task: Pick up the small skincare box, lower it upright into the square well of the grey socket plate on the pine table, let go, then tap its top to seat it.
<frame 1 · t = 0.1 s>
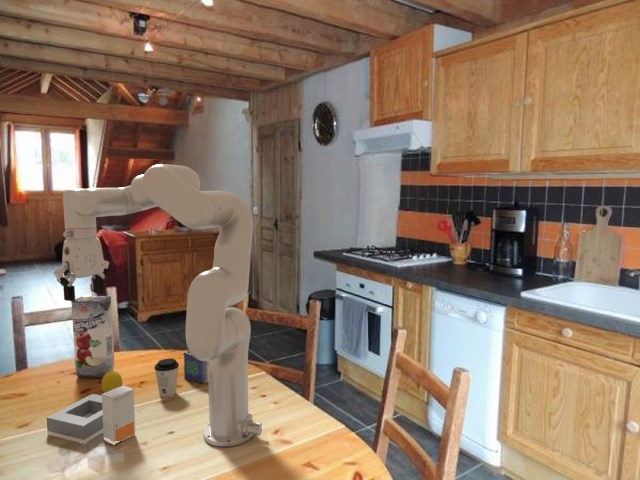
hand: (84, 296, 126), 31 cm above the table, tool pointing down, fingers open, 9 cm apart
juice carton: (95, 374, 151), on the table
lemon: (112, 397, 134), on the table
skincare box: (120, 438, 112), on the table
socket plate: (89, 425, 118), on the table
coffee cup: (167, 394, 136), on the table
flask: (195, 381, 145), on the table
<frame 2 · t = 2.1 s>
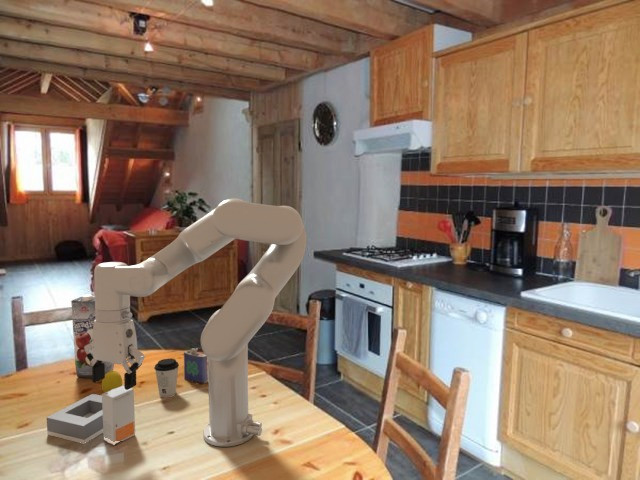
hand: (114, 383, 110), 14 cm above the table, tool pointing down, fingers open, 9 cm apart
nothing on the table moved.
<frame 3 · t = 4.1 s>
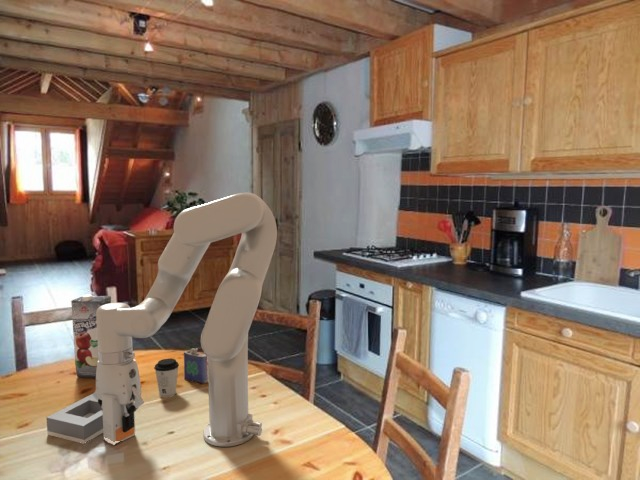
hand: (119, 426, 111), 3 cm above the table, tool pointing down, fingers closed on skincare box, 4 cm apart
skincare box: (120, 438, 112), on the table, touching gripper
everything else where it was.
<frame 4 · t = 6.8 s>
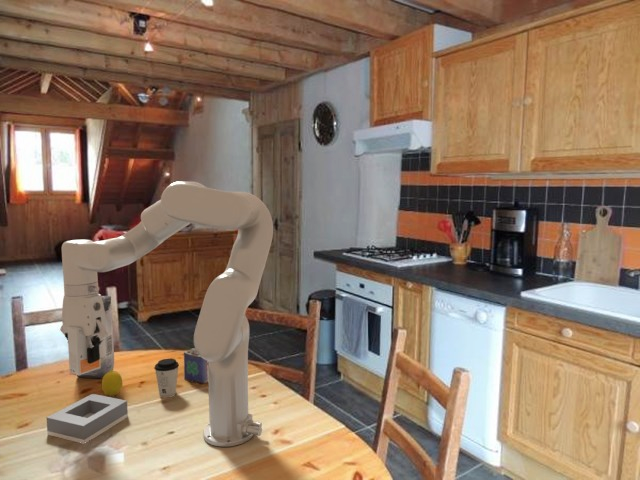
hand: (85, 359, 116), 18 cm above the table, tool pointing down, fingers closed on skincare box, 4 cm apart
skincare box: (85, 371, 116), point 14 cm above the table, touching gripper
everything else where it was.
when the fingers open (5 cm above the table, at t = 9.6 s): skincare box drops 1 cm, resting on socket plate.
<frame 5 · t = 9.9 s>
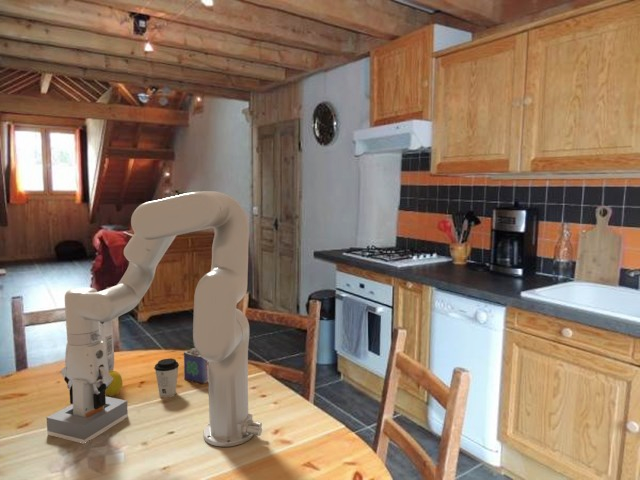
hand: (88, 403, 117), 6 cm above the table, tool pointing down, fingers open, 7 cm apart
skincare box: (89, 422, 118), point 1 cm above the table, touching socket plate
everything else where it was.
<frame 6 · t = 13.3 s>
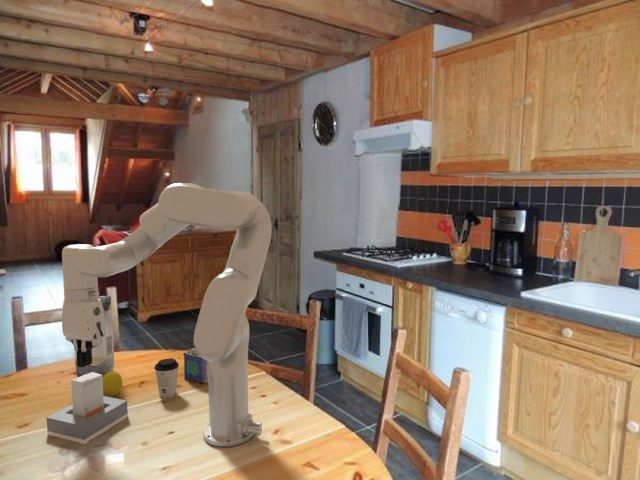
hand: (84, 364, 116), 16 cm above the table, tool pointing down, fingers closed
nothing on the table moved.
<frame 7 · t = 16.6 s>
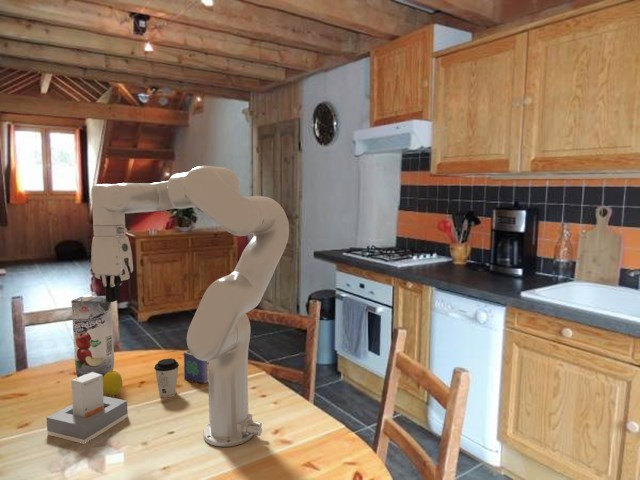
hand: (113, 300, 121), 31 cm above the table, tool pointing down, fingers closed
nothing on the table moved.
at the end: skincare box 0.2 cm off-centre on the socket plate, point 0.8 cm above the socket plate's base; skincare box tilted 0°; the gripper is holding nothing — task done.
